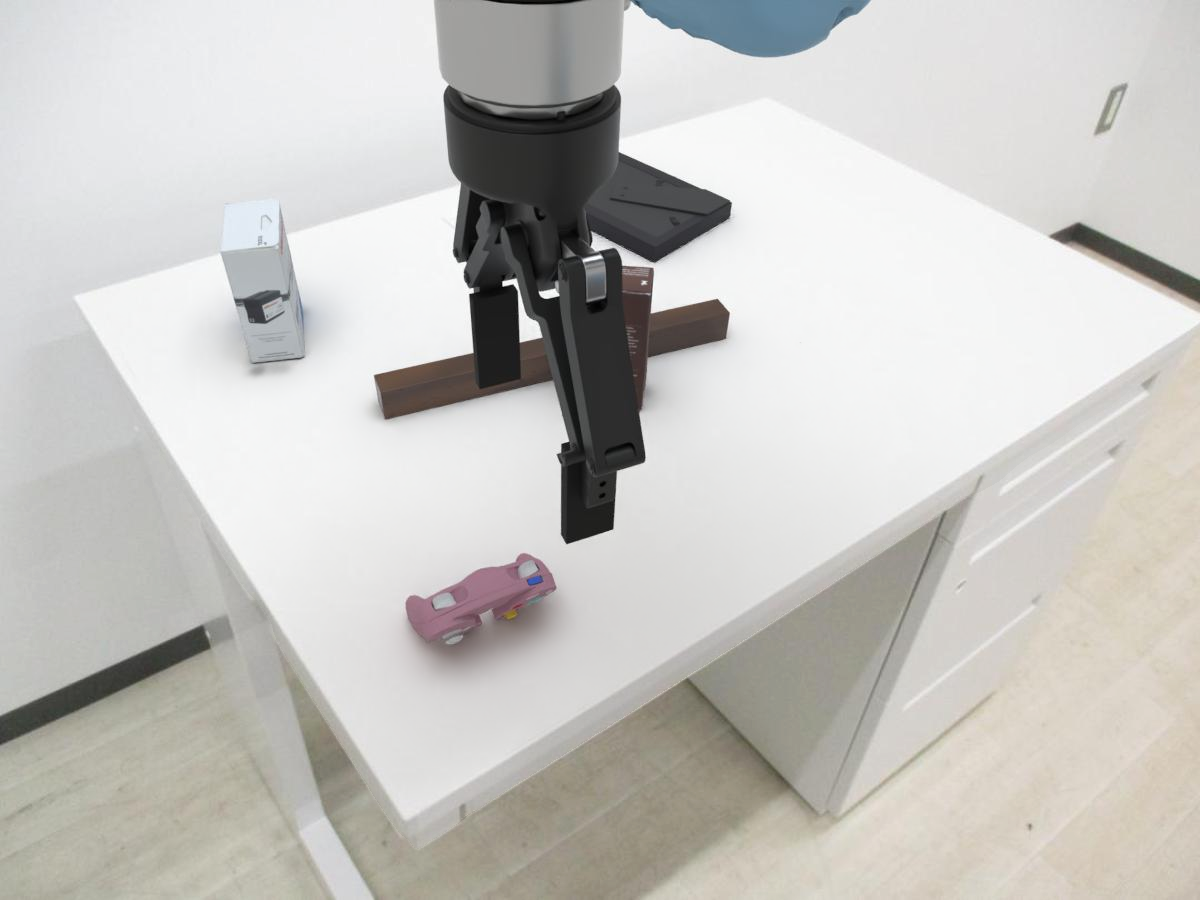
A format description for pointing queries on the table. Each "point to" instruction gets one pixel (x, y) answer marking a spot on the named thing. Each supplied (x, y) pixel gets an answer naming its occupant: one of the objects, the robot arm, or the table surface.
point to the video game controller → (480, 598)
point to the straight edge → (534, 362)
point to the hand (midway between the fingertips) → (539, 450)
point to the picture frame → (652, 210)
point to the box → (638, 320)
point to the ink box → (262, 279)
